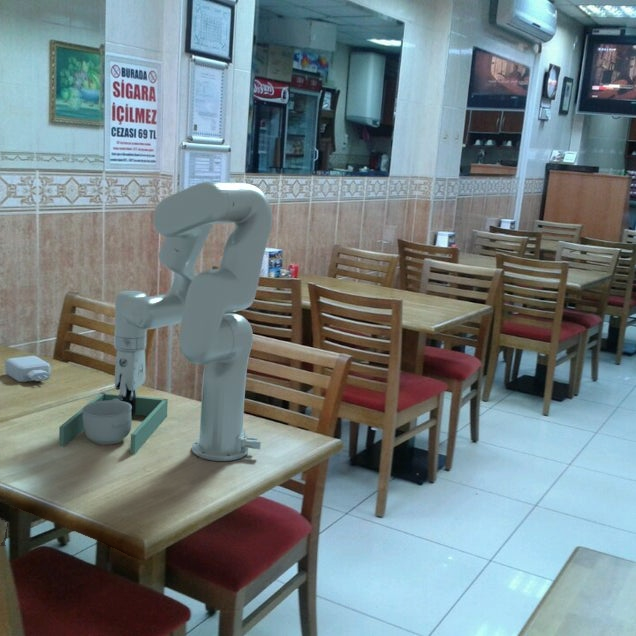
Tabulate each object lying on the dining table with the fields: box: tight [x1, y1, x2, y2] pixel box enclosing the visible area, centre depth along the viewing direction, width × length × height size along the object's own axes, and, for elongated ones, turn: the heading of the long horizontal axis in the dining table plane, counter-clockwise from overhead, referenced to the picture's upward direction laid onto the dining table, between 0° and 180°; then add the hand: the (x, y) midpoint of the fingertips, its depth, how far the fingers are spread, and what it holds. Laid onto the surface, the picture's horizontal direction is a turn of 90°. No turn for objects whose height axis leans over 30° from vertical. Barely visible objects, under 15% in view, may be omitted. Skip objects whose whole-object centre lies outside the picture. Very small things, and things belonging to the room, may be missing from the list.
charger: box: [4, 355, 51, 383], centre depth 209 cm, size 5×9×15 cm
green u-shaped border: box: [58, 392, 169, 455], centre depth 176 cm, size 17×26×4 cm, turn 175°
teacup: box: [81, 398, 132, 446], centre depth 171 cm, size 14×11×8 cm
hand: (128, 413), depth 185 cm, fingers closed
